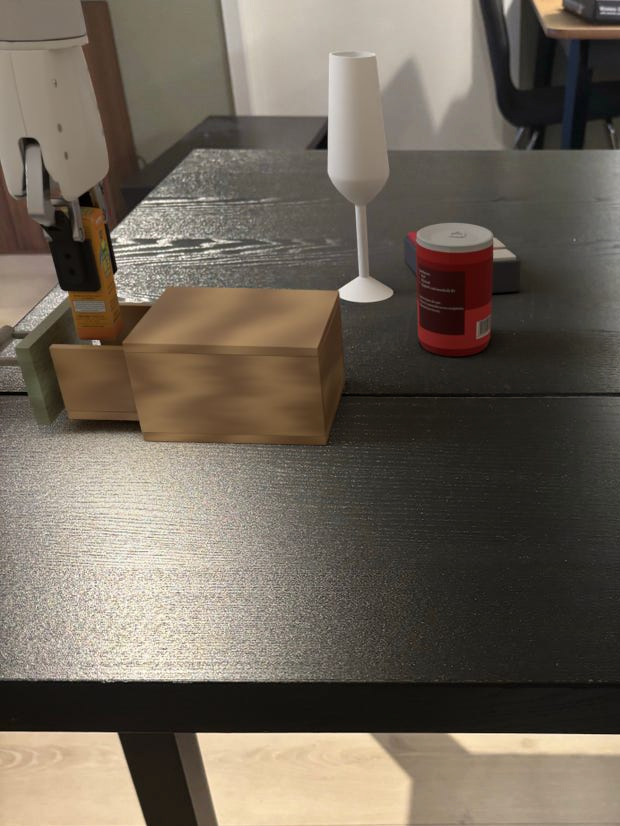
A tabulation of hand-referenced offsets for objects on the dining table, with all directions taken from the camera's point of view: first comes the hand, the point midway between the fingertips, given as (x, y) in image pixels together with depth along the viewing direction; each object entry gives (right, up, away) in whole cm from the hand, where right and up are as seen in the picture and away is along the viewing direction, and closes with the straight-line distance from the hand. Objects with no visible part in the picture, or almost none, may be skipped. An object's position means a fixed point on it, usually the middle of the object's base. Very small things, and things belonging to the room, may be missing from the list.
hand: (89, 279), depth 78 cm
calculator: (+30, +15, +38) cm, 51 cm away
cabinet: (+12, -9, +7) cm, 16 cm away
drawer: (-1, -8, +6) cm, 10 cm away
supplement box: (0, -4, +3) cm, 5 cm away
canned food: (+30, +1, +21) cm, 36 cm away
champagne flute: (+19, +11, +32) cm, 39 cm away
